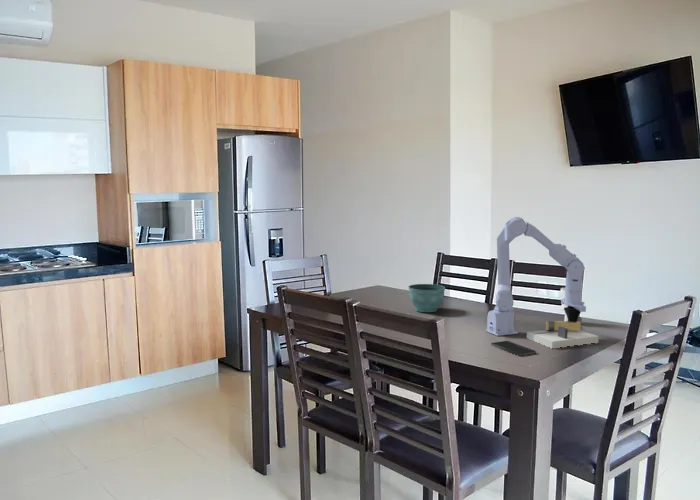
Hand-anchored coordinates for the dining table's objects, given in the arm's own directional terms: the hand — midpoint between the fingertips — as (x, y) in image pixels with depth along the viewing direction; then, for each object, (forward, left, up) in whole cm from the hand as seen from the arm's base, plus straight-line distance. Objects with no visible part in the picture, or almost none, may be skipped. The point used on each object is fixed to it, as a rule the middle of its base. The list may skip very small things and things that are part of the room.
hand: (572, 326), depth 212 cm
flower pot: (-30, +58, -4) cm, 65 cm away
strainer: (+14, +18, -4) cm, 23 cm away
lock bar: (-4, 0, -1) cm, 4 cm away
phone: (-30, -6, -4) cm, 31 cm away
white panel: (-7, -3, -4) cm, 9 cm away
